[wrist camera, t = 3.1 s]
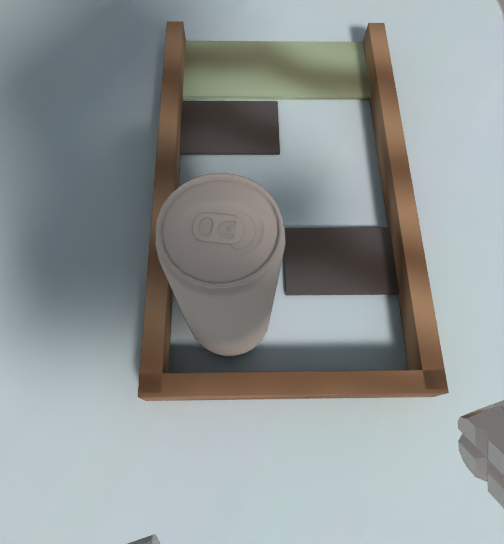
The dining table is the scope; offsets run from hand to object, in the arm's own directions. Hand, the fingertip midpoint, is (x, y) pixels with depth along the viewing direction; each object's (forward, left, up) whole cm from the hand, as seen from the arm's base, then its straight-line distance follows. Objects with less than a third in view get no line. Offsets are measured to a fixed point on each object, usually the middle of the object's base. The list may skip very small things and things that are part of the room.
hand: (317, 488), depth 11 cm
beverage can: (-5, +7, -14) cm, 16 cm away
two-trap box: (-6, +17, -14) cm, 22 cm away
